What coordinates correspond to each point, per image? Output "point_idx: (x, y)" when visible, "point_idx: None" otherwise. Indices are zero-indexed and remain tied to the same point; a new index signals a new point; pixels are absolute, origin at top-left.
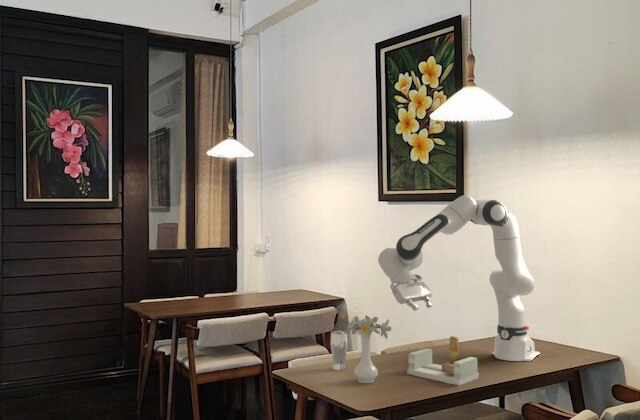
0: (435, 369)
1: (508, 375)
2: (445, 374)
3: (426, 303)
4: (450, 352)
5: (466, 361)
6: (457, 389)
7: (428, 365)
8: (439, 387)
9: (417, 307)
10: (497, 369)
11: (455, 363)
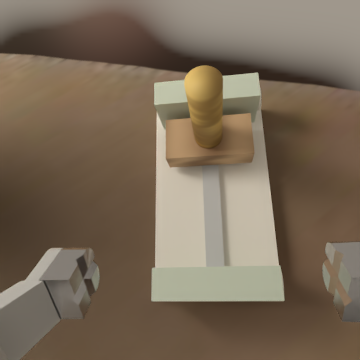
0: (220, 211)
1: (87, 87)
2: None
3: (40, 334)
4: (220, 124)
5: None
6: (290, 92)
7: (209, 249)
8: (315, 130)
9: (351, 244)
10: (50, 135)
11: (259, 90)
